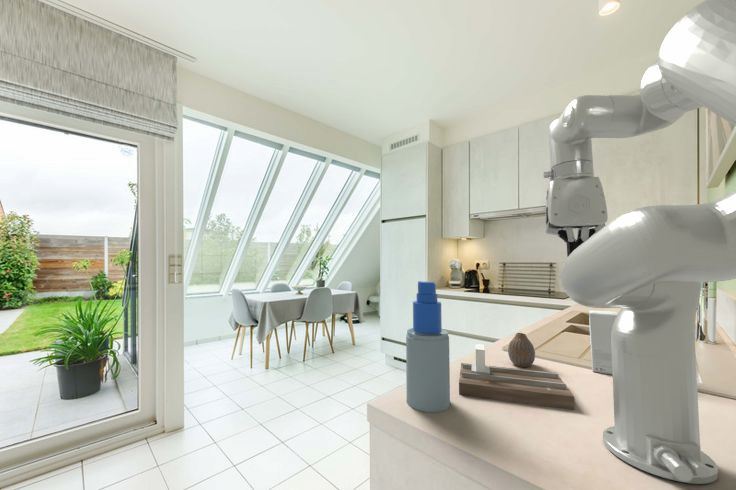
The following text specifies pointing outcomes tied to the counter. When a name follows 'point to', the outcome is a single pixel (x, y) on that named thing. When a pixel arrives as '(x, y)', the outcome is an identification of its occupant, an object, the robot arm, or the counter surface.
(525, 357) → the vase
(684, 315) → the robot arm
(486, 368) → the fader slider
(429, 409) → the spray bottle
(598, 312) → the skincare box
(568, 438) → the counter surface
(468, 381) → the fader console
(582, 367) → the counter surface
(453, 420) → the counter surface
